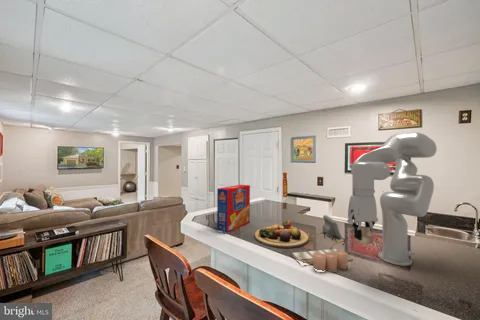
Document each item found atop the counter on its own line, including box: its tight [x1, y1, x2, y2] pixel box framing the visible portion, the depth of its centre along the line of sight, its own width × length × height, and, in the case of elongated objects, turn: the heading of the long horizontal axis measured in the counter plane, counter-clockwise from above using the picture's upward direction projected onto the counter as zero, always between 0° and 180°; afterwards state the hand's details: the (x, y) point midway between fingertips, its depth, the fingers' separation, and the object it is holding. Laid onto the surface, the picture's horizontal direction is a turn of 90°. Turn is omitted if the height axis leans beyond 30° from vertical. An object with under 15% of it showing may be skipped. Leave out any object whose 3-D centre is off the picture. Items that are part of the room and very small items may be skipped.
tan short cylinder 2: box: [324, 252, 338, 272], centre depth 89 cm, size 5×5×6 cm
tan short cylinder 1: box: [312, 253, 327, 271], centre depth 89 cm, size 5×5×6 cm
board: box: [289, 248, 354, 264], centre depth 100 cm, size 26×12×1 cm, turn 102°
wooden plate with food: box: [254, 219, 310, 249], centre depth 126 cm, size 32×32×8 cm
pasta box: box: [216, 184, 251, 234], centre depth 145 cm, size 28×8×28 cm, turn 147°
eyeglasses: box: [307, 231, 346, 249], centre depth 117 cm, size 14×14×4 cm
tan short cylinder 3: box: [335, 249, 349, 270], centre depth 91 cm, size 5×5×6 cm
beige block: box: [355, 226, 374, 245], centre depth 84 cm, size 4×4×6 cm
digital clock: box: [322, 214, 342, 239], centre depth 131 cm, size 16×9×11 cm, turn 167°
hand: (362, 238), depth 84 cm, fingers closed on beige block, 3 cm apart
